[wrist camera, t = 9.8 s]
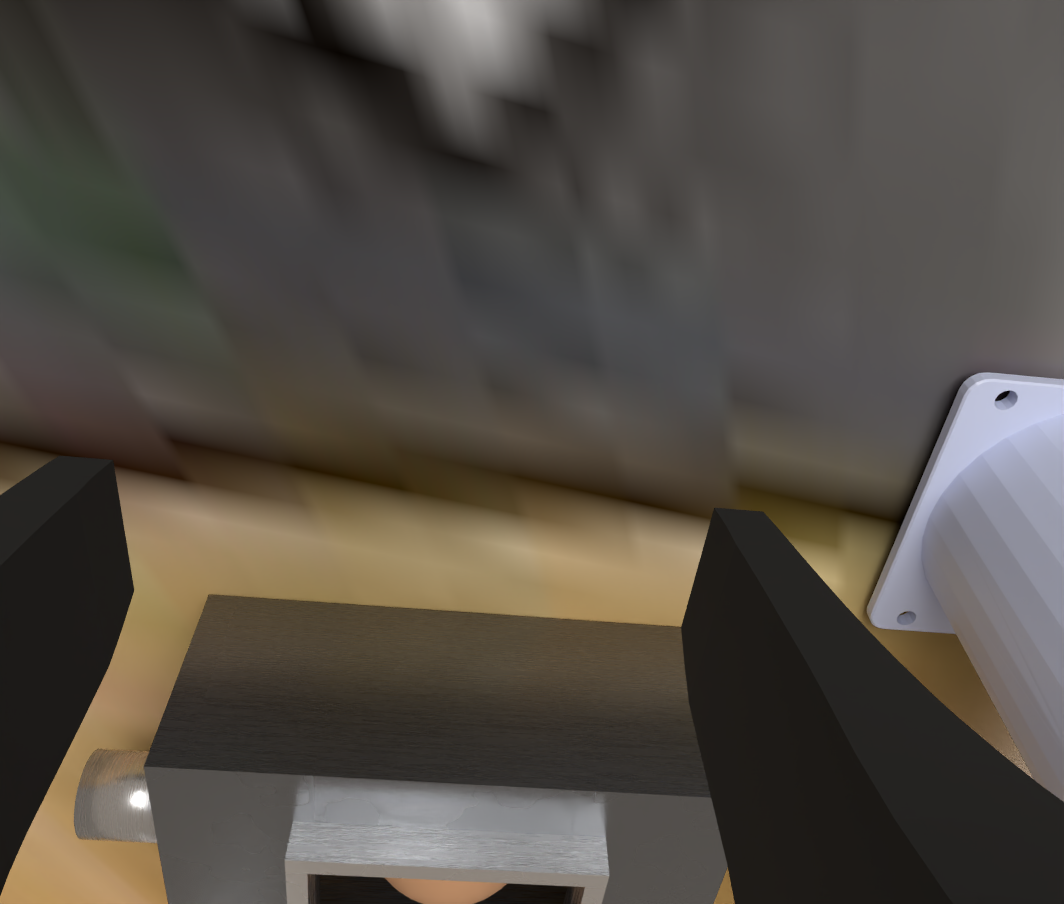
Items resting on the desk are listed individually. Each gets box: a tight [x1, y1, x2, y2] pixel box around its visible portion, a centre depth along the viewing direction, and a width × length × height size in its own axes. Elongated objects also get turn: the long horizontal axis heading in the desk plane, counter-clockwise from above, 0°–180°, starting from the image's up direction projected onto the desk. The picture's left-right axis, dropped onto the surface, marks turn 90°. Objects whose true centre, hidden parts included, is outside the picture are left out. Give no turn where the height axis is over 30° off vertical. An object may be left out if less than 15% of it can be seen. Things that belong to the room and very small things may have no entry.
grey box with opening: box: [74, 595, 728, 904], centre depth 27 cm, size 17×11×7 cm, turn 84°
